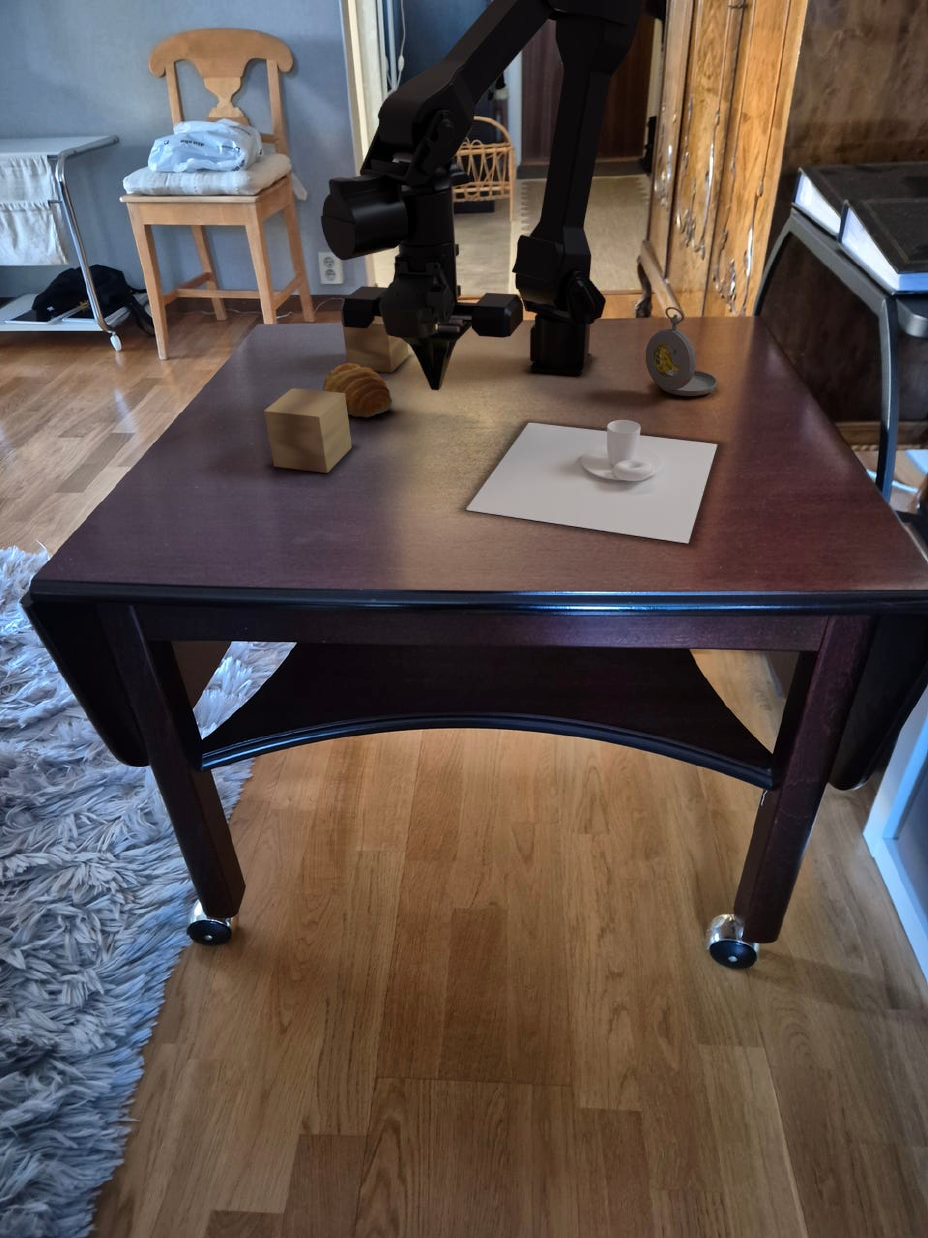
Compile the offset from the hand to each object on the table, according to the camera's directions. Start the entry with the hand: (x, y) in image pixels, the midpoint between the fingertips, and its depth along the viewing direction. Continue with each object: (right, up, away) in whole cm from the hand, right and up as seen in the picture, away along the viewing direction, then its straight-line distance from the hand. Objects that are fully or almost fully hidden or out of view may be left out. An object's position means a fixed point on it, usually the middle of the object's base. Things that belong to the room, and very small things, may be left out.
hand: (436, 389), depth 94 cm
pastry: (-9, -1, +4) cm, 10 cm away
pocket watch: (+28, +1, +4) cm, 28 cm away
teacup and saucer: (+16, -12, -12) cm, 24 cm away
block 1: (-12, -9, -7) cm, 17 cm away
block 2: (-8, +7, +14) cm, 18 cm away
